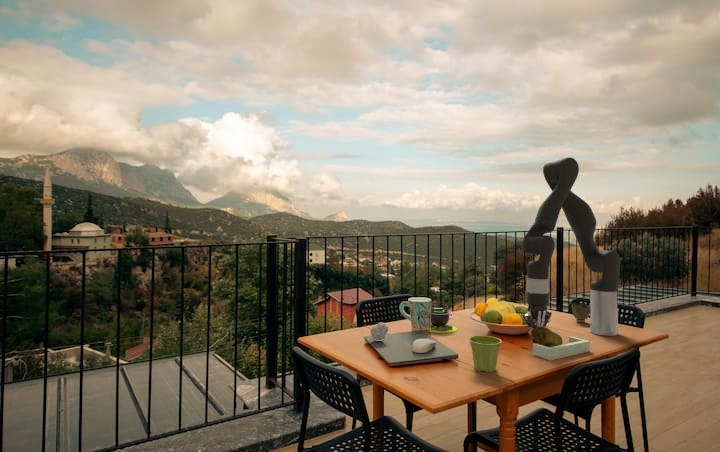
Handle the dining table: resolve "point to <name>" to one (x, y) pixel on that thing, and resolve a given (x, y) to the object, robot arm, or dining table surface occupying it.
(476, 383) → the dining table surface
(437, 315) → the toy cauldron
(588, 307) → the cup
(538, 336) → the olive green oval lump
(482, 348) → the plant pot
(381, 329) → the grey rough lump
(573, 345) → the corral
